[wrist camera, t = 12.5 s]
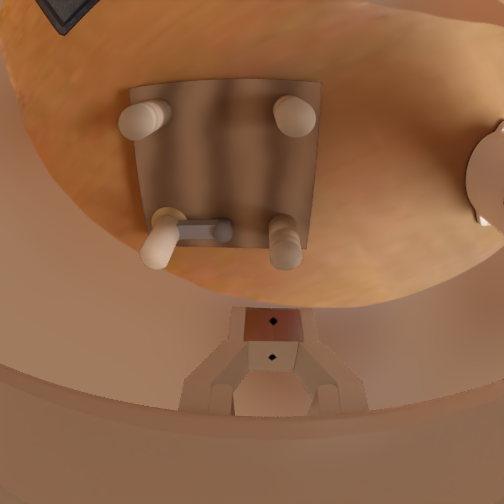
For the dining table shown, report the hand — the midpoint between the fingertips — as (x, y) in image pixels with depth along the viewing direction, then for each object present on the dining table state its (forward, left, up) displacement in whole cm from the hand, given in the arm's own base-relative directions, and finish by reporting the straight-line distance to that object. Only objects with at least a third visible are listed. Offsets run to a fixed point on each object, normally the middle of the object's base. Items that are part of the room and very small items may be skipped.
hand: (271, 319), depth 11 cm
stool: (+5, +3, -29) cm, 30 cm away
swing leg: (+9, +11, -26) cm, 29 cm away
